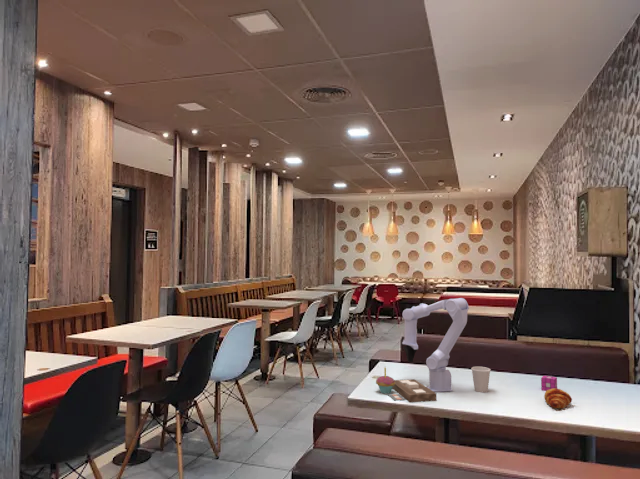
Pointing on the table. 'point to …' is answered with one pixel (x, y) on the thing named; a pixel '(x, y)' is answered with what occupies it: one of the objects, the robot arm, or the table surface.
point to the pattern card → (396, 397)
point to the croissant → (557, 398)
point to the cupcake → (385, 383)
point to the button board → (411, 395)
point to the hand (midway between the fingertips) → (410, 361)
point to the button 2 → (419, 391)
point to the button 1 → (404, 381)
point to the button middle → (412, 385)
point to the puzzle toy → (548, 383)
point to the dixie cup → (481, 378)
